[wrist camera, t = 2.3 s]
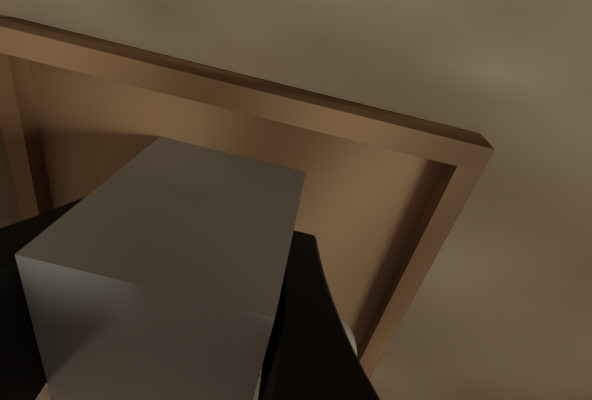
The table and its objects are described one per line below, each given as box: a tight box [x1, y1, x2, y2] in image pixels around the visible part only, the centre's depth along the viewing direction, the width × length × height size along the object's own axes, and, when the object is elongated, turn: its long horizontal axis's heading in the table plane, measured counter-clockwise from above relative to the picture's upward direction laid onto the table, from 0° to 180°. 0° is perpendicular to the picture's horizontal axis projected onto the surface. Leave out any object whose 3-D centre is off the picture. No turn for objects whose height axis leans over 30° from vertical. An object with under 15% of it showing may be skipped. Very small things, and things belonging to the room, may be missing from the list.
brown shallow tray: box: [0, 17, 495, 379], centre depth 11 cm, size 12×10×1 cm
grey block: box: [15, 136, 306, 400], centre depth 9 cm, size 4×4×5 cm
